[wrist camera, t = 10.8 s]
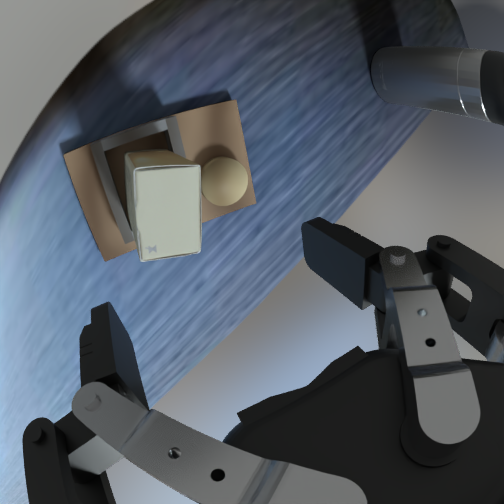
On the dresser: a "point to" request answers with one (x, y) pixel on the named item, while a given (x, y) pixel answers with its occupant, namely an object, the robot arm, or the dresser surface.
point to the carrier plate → (177, 141)
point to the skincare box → (163, 203)
